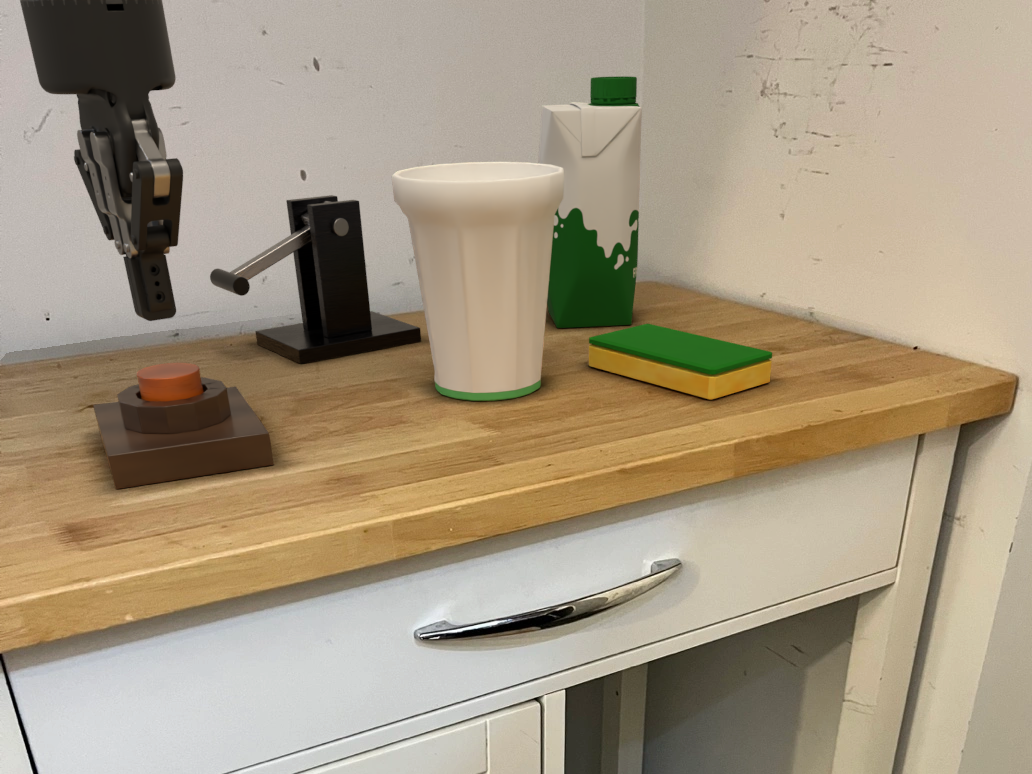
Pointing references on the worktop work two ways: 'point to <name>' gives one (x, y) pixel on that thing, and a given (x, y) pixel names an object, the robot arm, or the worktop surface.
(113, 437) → the button box
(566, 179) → the milk carton
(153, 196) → the robot arm
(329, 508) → the worktop surface
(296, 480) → the worktop surface
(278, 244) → the lever
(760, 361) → the dish sponge
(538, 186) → the cup
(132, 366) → the worktop surface
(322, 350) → the bracket
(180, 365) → the button
